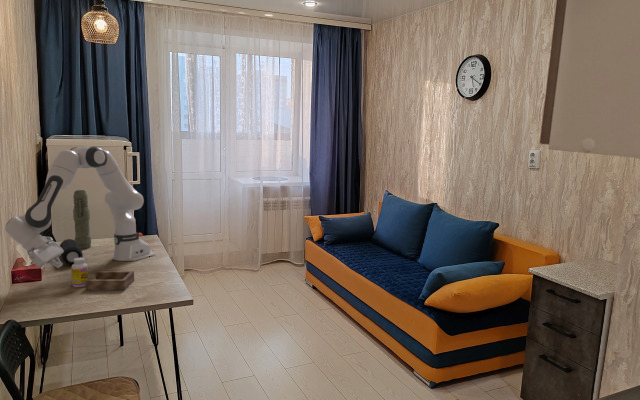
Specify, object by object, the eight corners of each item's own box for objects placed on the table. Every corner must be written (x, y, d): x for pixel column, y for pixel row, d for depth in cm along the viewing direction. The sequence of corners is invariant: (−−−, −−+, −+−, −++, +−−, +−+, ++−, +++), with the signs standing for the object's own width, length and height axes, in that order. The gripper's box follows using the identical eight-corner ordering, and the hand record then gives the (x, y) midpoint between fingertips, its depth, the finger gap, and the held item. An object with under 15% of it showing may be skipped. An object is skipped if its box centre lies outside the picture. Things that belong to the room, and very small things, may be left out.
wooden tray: (85, 290, 217) (85, 280, 217) (97, 280, 231) (96, 271, 230) (125, 290, 219) (124, 280, 218) (134, 280, 233) (134, 271, 232)
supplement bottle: (81, 288, 220) (80, 261, 218) (69, 287, 221) (67, 260, 219) (91, 283, 226) (90, 257, 224) (79, 282, 228) (77, 256, 226)
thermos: (90, 244, 298) (87, 189, 292) (91, 249, 287) (88, 191, 282) (74, 246, 294) (71, 189, 288) (75, 250, 283) (71, 192, 278)
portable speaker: (59, 256, 271) (58, 239, 270) (78, 254, 276) (77, 237, 275) (62, 268, 250) (61, 249, 248) (83, 265, 255) (82, 247, 254)
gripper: (30, 246, 209) (55, 268, 211) (52, 235, 229) (74, 255, 231) (20, 256, 209) (45, 277, 212) (43, 245, 229) (65, 264, 232)
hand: (60, 266), depth 222 cm, fingers closed
